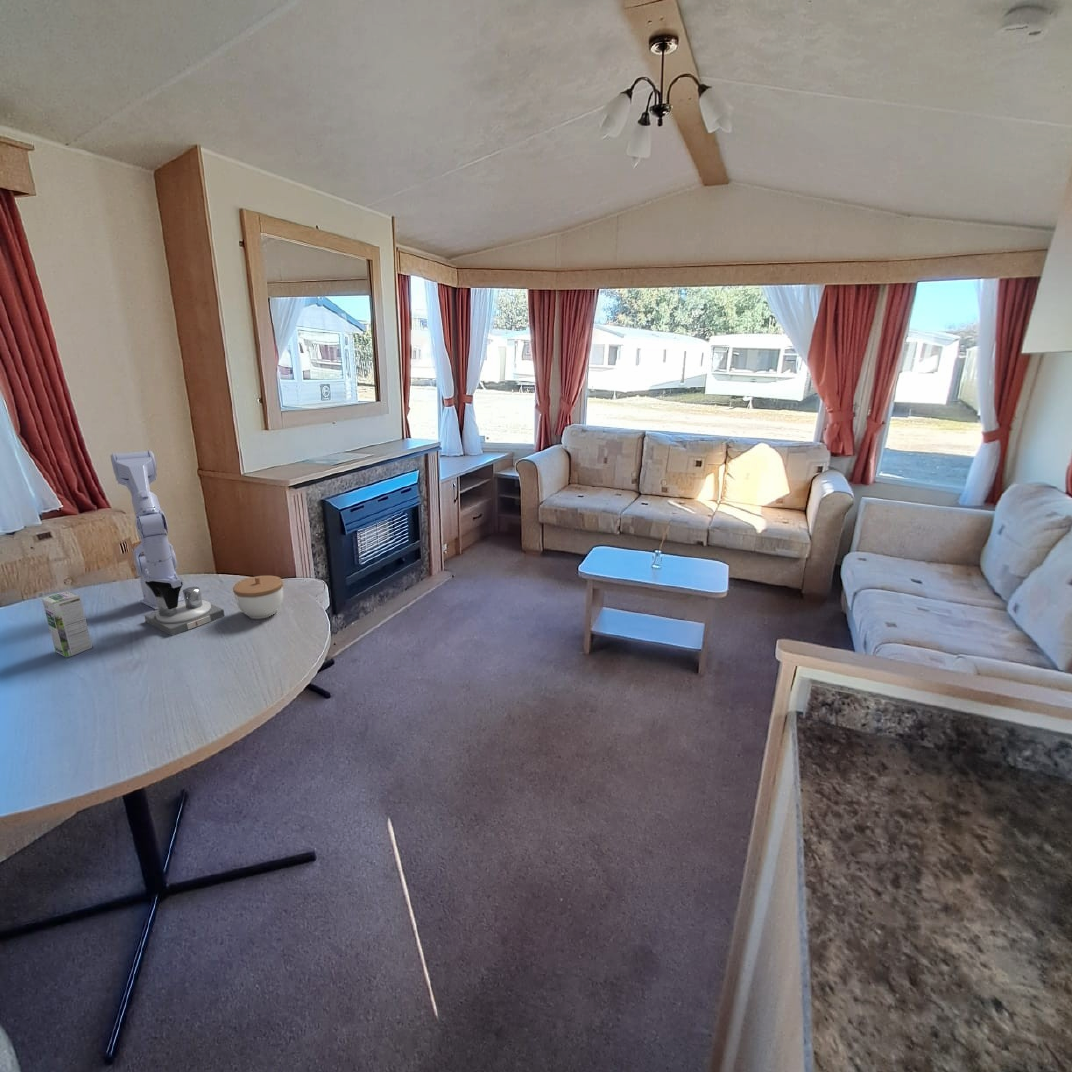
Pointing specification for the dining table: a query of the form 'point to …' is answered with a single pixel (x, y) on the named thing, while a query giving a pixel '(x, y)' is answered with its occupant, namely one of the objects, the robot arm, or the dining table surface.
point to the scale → (184, 617)
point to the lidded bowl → (259, 596)
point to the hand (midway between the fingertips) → (168, 605)
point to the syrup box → (67, 623)
